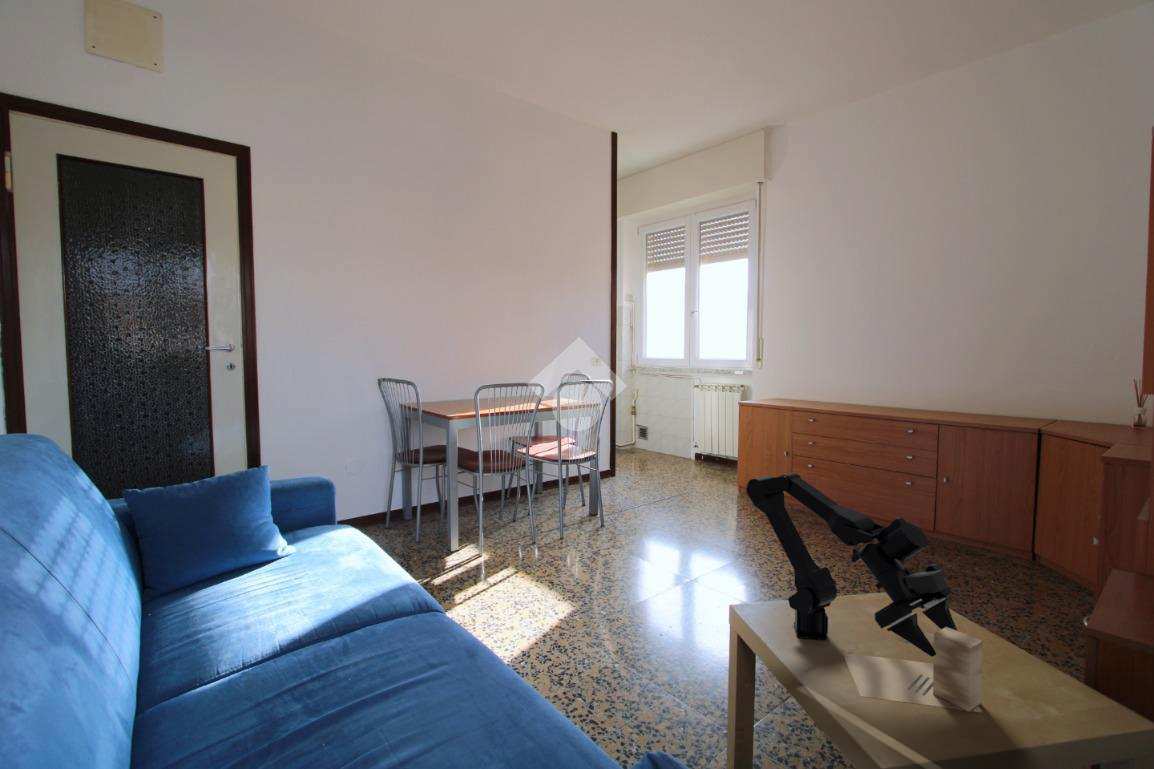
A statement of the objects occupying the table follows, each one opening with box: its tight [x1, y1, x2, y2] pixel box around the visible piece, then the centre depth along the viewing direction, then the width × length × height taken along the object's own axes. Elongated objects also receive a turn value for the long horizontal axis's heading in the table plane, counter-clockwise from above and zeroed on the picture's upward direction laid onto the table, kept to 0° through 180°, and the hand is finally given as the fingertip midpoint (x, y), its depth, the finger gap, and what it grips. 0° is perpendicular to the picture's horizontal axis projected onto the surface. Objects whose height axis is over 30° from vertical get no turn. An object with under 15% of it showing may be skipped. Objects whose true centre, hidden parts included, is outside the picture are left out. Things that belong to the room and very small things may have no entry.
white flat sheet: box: [842, 652, 984, 713], centre depth 105 cm, size 20×15×1 cm
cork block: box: [933, 627, 984, 714], centre depth 99 cm, size 6×4×12 cm
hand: (946, 648), depth 100 cm, fingers open, 9 cm apart
